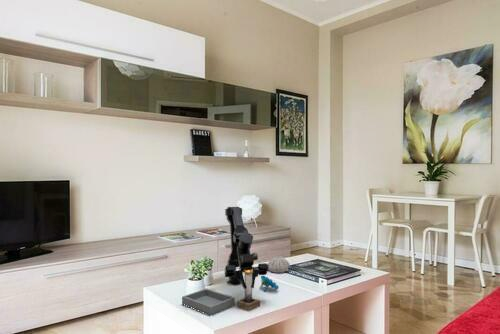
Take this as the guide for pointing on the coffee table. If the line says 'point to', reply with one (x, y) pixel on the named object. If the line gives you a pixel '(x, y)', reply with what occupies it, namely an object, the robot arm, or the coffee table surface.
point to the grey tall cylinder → (248, 285)
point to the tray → (208, 301)
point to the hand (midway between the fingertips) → (249, 288)
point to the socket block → (248, 304)
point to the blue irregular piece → (268, 283)
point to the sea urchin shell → (278, 265)
